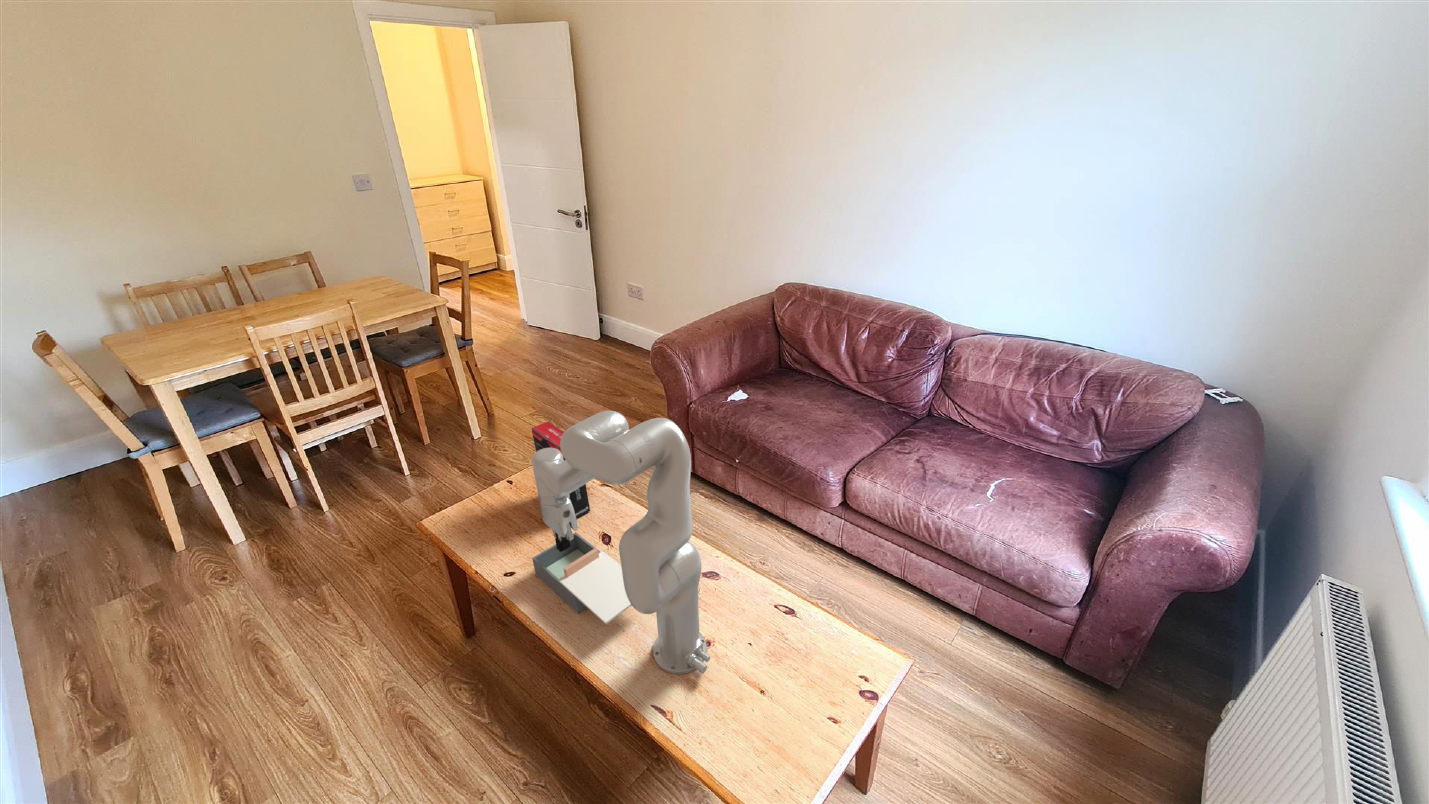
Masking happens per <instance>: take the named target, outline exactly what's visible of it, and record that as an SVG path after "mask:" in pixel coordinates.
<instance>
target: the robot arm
mask: <svg viewBox="0 0 1429 804" xmlns="http://www.w3.org/2000/svg"><path fill="white" fill-rule="evenodd" d="M563 432H564V433H563V435H562V437H561V441H560V448H561V452H562V453H561V452H560V451H559V450H558V449H555V448H544V449H541V450H539V451H537V452H536V451H535V453H533V455H532V458H531V466H532V469H533V470H532V471H533V475H534V480H535V485H536V491H537V496H538V500H539V504H540V511H541V517H542V520H543V522H544V524H545V525H546V526H547V527H549V528H550V529H551V531H552V535H553V537H554V539H555V544H556V546H557V549H558V550H559V551H560V552H562V551H564V550H566V549H567V548H569V547H570V540H572V539H574V536H573V534H574V532H573V531H575V532H576V531H578V530H579V526H578V525H579V524H578V521H577V519H576V516H575V512H574V508H573V506H572V503H571V500H570V499H569V497H570V495H569V494H570V493H571V492H573V491H575V490H576V489H578V488H579V487H581V486H583V485H584V484H586V485H587V484H588V483H590V482H591V481H593V480H595V479H598V480H600V481H602V482H604V483H608V484H610V485H614V486H619V485H620V486H621V485H625V484H627V483H629V482H630V481H633V480H634V479H635V478H637V477H638V476H640V475H642V474H643V473H645V472H646V471H648V470H650V469H651V468H652V467H654V468H653V470H652V472H651V475H650V479H649V482H648V485H647V490H646V497H647V498H646V500H647V512H646V514H645V515H644V516H643V517H642V518H641V519H639V520H638V521H636V523H634V524H633V525H631V526H629V528H627V529H626V530H625V531H624V532H623V534H622V535H621V537H620V539H619V540H620V541H619V543H618V553H619V560H620V565H621V569H622V576H623V583H624V588H625V592H626V595H627V598H628V600H629V602H630V603H631V605H632V606H631V607H633V609H635V610H636V611H637V612H639V613H640V614H644V615H652V614H656V625H657V637H656V639H655V641H654V644H653V647H652V653H653V655H652V656H653V658H654V662H655V663H656V664H657V666H658V667H659V668H660V669H661V670H663V671H665V672H667V673H670V674H674V675H675V674H676V675H681V674H687V673H690V672H693V671H694V670H697V671H698V672H699V673H700V674H704V673H705V672H706V671H707V669H708V666H707V665H706V664H705V663H708V662H709V661H710V659H711V656H710V655H709V654H707V651H708V646H707V640H706V639H705V636H704V635H703V634H702V633H701V632H700V616H699V614H700V613H699V585H700V584H699V583H700V579H701V573H702V559H701V555H700V553H699V550H698V549H697V547H695V545H694V544H693V543H692V542H690V539H691V537H692V534H693V518H692V515H693V514H692V502H691V488H690V487H691V486H690V485H691V472H692V460H691V459H692V455H691V450H690V446H689V443H688V441H687V439H686V437H685V434H684V433H683V431H682V429H681V428H680V427H679V425H677V424H676V423H675V422H674V421H673V420H672V419H669V418H665V417H655V418H651V419H648V420H645V421H643V422H640V423H639V424H636V425H635V426H633V427H631V428H630V426H629V422H628V421H627V418H626V417H625V416H624V415H623V414H622V413H621V412H618V411H615V410H603V411H599V412H597V413H595V414H593V415H592V416H589V417H587V418H584V420H581V421H579V422H577V423H575V424H574V425H571V426H570V427H568V428H567V429H566V430H565V431H563ZM562 454H563V455H562ZM563 456H564V458H565V459H566V460H563ZM704 662H705V663H704Z"/></svg>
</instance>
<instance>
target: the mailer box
mask: <svg viewBox="0 0 1429 804" xmlns="http://www.w3.org/2000/svg"><path fill="white" fill-rule="evenodd" d="M573 536H574V539H572V540H570V547H569V548H567V549H566V550H564V551H562V552H560V551H559V550H558V549H557V546H556V543H555V544H553V545H551V546H549V548H547V549H545V550H543V551H542V552H539V553H538V554H537V555H535V556H533V557H532V565H533V567H534V568H533V569H534V573H535V576H536V577H538V578H539V579H540V580H541V581H542V582H543V583H544V584H545V585H546V586H547V587H549V589H551V590H552V591H553V592H554V593H555V594H556V595H557V596H558V597H559V598H560V599H561V600H562V601H564V602H565V603H566V604H567V605H568V606H569V607H570V608H571V609H572V610H573V611H574V612H575V613H576V614H578V615H579V614H580V613H582V612H583V611H585V610H586V609H588V608H587V607H586V606H585V605H584V604H583V603H582V602H581V601H580V600H579V599H577V598H576V597H575V596H574V595H573V594H572V593H571V592H570V591H569V590H568V589H566V588H565V587H564V586H563V585H562V584H561V583H560V582H559V581H558V579H560V578H561V577H563V576H564V575H565V574H564V569H563V568H564V567H566V566H568V565H569V564H571V563H572V562H574V561H575V560H577V559H579V558H580V557H582V556H583V555H585V554H587V553H588V552H590V551H591V550H593V549H594V548H596V547H595V546H594V545H593V544H591V542H589V541H587V540H586V538H583V537H582V536H581V535H580V534H578V533H577V532H576V531H575V532H573ZM596 549H597V550H598V553H600V552H601V550H599V549H598V548H596Z"/></svg>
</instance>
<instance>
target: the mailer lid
mask: <svg viewBox="0 0 1429 804" xmlns="http://www.w3.org/2000/svg"><path fill="white" fill-rule="evenodd" d="M597 549H598V548H597V547H595V548H594V549H593V550H591V551H590V552H588V553H587V554H585V555H583V556H582V557H580V558H579V559H577V560H575V561H574V562H572V563H571V564H569V565H568V566H566V567H564V568H563V569H564V574H565V575H564V576H563V577H561V578H560V579H558V581H559V582H560V583H561V584H562V585H563V586H564V587H565V588H566V589H568V590H569V591H570V592H571V593H572V594H573V595H574V596H575V597H576V598H577V599H579V600H580V601H581V602H582V603H583V604H584V605H585V606H586V607H587V608H586V609H589V610H590V611H591V612H592V613H593V614H594V615H595V616H596V617H598V619H599V620H601V621H602V622H603V623H604V624H605V625H607V624H609V623H610V622H612V621H613V620H614V619H615V618H617V617H618V616H620V615H621V614H622V613H624V612H625V611H626V610H628V609H629V608H630V607H633V606H632V605H631V603H630V602H629V600H628V598H627V595H626V592H625V588H624V583H623V576H622V569H621V563H619V562H617V561H616V560H615V559H613V558H612V557H611V556H610V555H608V554H607V553H606V552H604V551H603V550H602V551H600V553H598V550H599V549H598V550H597Z"/></svg>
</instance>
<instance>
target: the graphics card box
mask: <svg viewBox="0 0 1429 804" xmlns="http://www.w3.org/2000/svg"><path fill="white" fill-rule="evenodd" d="M564 432H565V431H563V430H562V429H560V428H559V427H558V426H556V425H555V424H552V423H551V422H550V421H547V422H544V423H541V424H538V425H536V426H534V427H531V433H532V438H533V442H534V449H535V453H536V452H537V451H539V450H541V449H544V448H555V449H558V450H559V451H560V452H561V448H560V441H561V437H562V435H563V433H564ZM561 453H562V452H561ZM562 455H563V454H562ZM563 460H566V459H565V458H564V456H563ZM587 490H588V489H587V483H586V484H584V485H583V486H581V487H579V488H578V489H576V490H575V491H573V492H571V493H570V494H569V495H570V497H569V499H570V500H571V503H572V506H573V508H574V512H575V516H576V520H577V519H580V518H581V517H583V516H585V515H586V514H588V513H590V511H591V507H590V502H589V496H588V491H587Z"/></svg>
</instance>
